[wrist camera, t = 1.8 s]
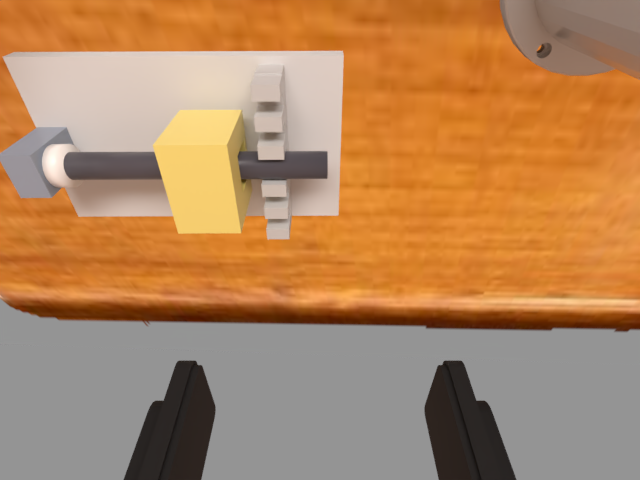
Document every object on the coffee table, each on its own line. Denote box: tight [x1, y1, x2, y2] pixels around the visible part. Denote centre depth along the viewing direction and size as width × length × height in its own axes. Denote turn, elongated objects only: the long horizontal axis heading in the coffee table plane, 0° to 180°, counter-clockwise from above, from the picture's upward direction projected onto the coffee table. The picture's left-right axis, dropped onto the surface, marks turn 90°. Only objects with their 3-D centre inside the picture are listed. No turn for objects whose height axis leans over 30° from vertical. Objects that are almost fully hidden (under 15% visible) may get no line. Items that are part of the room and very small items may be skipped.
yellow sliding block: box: [153, 110, 252, 234], centre depth 25 cm, size 4×6×5 cm, turn 0°
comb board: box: [0, 51, 344, 239], centre depth 26 cm, size 21×12×6 cm, turn 90°
